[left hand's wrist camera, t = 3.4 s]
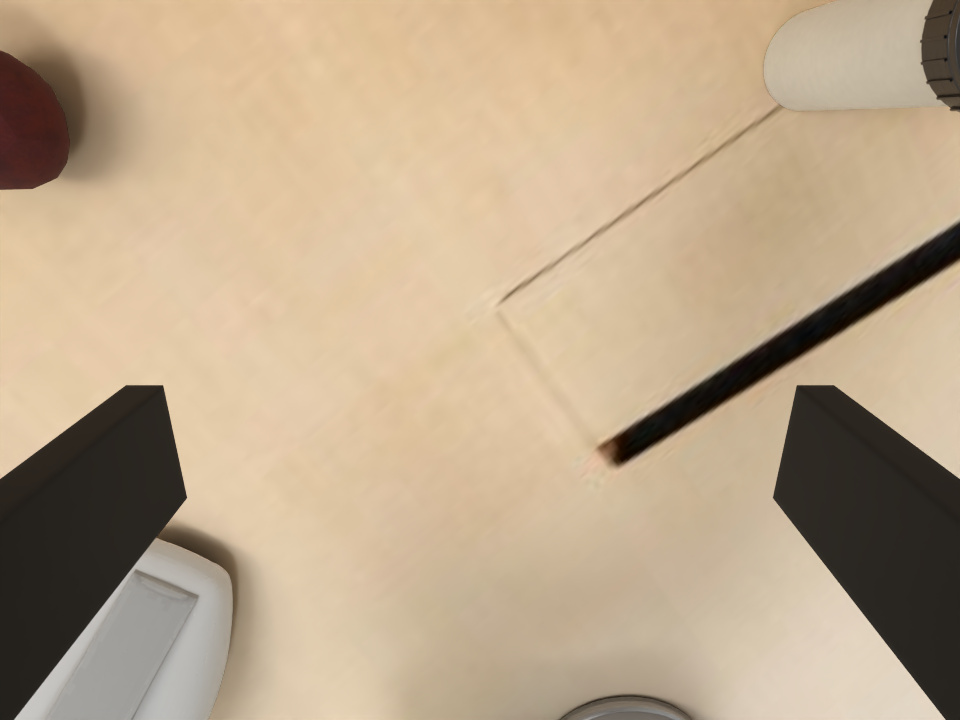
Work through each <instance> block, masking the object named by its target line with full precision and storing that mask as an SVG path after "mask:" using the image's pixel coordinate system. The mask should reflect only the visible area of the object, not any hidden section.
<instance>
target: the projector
mask: <svg viewBox="0 0 960 720" xmlns="http://www.w3.org/2000/svg"><path fill="white" fill-rule="evenodd" d="M232 614H233V595H232V584H231V580H230V576H229V574H228V573H227V572H226V570H225V569H223V568H222V567H221V566H219V565H218V564H216V563H213V562H211V561H209V560H208V559H206V558H204V557H202V556H200V555H198V554H196V553H194V552H191V551H189V550H187V549H184V548H182V547H180V546H177V545H175V544H172V543H169V542H166V541H163V540H160V539H158V538H155V540H154V541H153V542H152V544H151V545H150V546H149V547H148V549H147V550H146V551H145V552H144V554H143V555H142V556H141V558H140V559H139V560H138V561H137V563H136V564H135V565H134V567H133V568H132V569H131V570H130V572H129V573H128V574H127V576H126V577H125V578H124V579H123V581H122V582H121V583H120V585H119V586H118V587H117V588H116V590H115V591H114V592H113V594H112V595H111V596H110V597H109V599H108V600H107V601H106V603H105V604H104V605H103V606H102V608H101V609H100V610H99V612H98V613H97V614H96V615H95V617H94V618H93V619H92V621H91V622H90V623H89V624H88V626H87V627H86V628H85V630H84V631H83V632H82V633H81V635H80V636H79V637H78V639H77V640H76V641H75V642H74V644H73V645H72V646H71V647H70V649H69V650H68V651H67V653H66V654H65V655H64V656H63V658H62V659H61V660H60V662H59V663H58V664H57V665H56V667H55V668H54V669H53V671H52V672H51V673H50V674H49V676H48V677H47V678H46V680H45V681H44V682H43V683H42V685H41V686H40V687H39V689H38V690H37V691H36V692H35V694H34V695H33V696H32V698H31V699H30V700H29V701H28V703H27V704H26V705H25V707H24V708H23V709H22V710H21V712H20V713H19V714H18V716H17V717H16V718H15V719H14V720H208V719H209V717H210V714H211V712H212V709H213V706H214V703H215V701H216V698H217V695H218V692H219V689H220V685H221V682H222V678H223V675H224V671H225V667H226V662H227V657H228V651H229V645H230V637H231V628H232Z"/></svg>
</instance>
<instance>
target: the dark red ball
mask: <svg viewBox="0 0 960 720" xmlns="http://www.w3.org/2000/svg"><path fill="white" fill-rule="evenodd" d="M69 145H70V140H69V135H68V129H67V124H66V119H65V114H64V112H63V110H62V108H61V106H60V104H59V102H58V100H57V98H56V96H55V94H54V92H53V90H52V88H51V87H50V86H49V85H48V84H47V83H46V82H45V81H44V80H43V79H42V78H41V77H40V76H39V75H38V74H37V73H36V72H35V71H34V70H32V69H31V68H29V67H28V66H26V65H25V64H23V63H22V62H20V61H19V60H17V59H16V58H14V57H13V56H11V55H10V54H8V53H5V52H3V51H0V190H6V189H33V188H36V187H38V186H40V185H42V184H45V183H47V182H49V181H51V180H53V179H56V178H57V177H58V176H59V174H60V173H61V171H62V170H63V168H64V166H65V165H66V163H67V159H68V152H69Z"/></svg>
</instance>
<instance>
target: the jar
mask: <svg viewBox="0 0 960 720" xmlns="http://www.w3.org/2000/svg"><path fill="white" fill-rule="evenodd" d="M932 1H933V0H836V1H833V2H830V3H827V4H825V5H822V6H819V7H816V8H813V9H810V10H807V11H804V12H801V13H799V14H797V15H795V16H794V17H792V18H791V19H789V20H788V21H787V22H786V23H785V24H784V25H783V26H782V27H781V28H780V29H779V30H778V31H777V33H776V34H775V35H774V37H773V39H772V40H771V42H770V44H769V46H768V49H767V52H766V55H765V60H764V80H765V84H766V87H767V89H768V92H769V93H770V95H771V96H772V98H773V99H774V100H775V101H776V102H777V103H778V104H780V105H781V106H783V107H785V108H787V109H790V110H794V111H822V110H852V109H883V108H913V107H943V106H947V105H946V104H944V103H943V102H942V101H941V100H937V99H936V97H937V96H936V94H935V93H934V92H933V90H932V89H931V87H930V85H929V84H926V81H927V79H926V76H925V73H924V70H923V65H921V62H922V57H921V43H920V40H922V33H923V28H924V23H925V19H924V18H925V16H927V14H928V11H929V8H930V6H931V4H932Z"/></svg>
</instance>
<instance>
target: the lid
mask: <svg viewBox="0 0 960 720" xmlns="http://www.w3.org/2000/svg"><path fill="white" fill-rule="evenodd" d="M924 19H925V23H924V28H923V33H922V40H920V43H921V57H922V62H921V65H923V70H924V73H925V76H926V79H927V81H926V84H929V85H930V87H931V89H932V90H933V92H934V93H935V94H936V96H937V97H936V99H937V100H941V101H942V102H943V103H944V104H946V105H947V106H949V107H950V108H951V109H950V110H951V111H958V112H960V0H933V1H932V4H931V6H930V8H929V11H928V14H927V16H925V18H924Z"/></svg>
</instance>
